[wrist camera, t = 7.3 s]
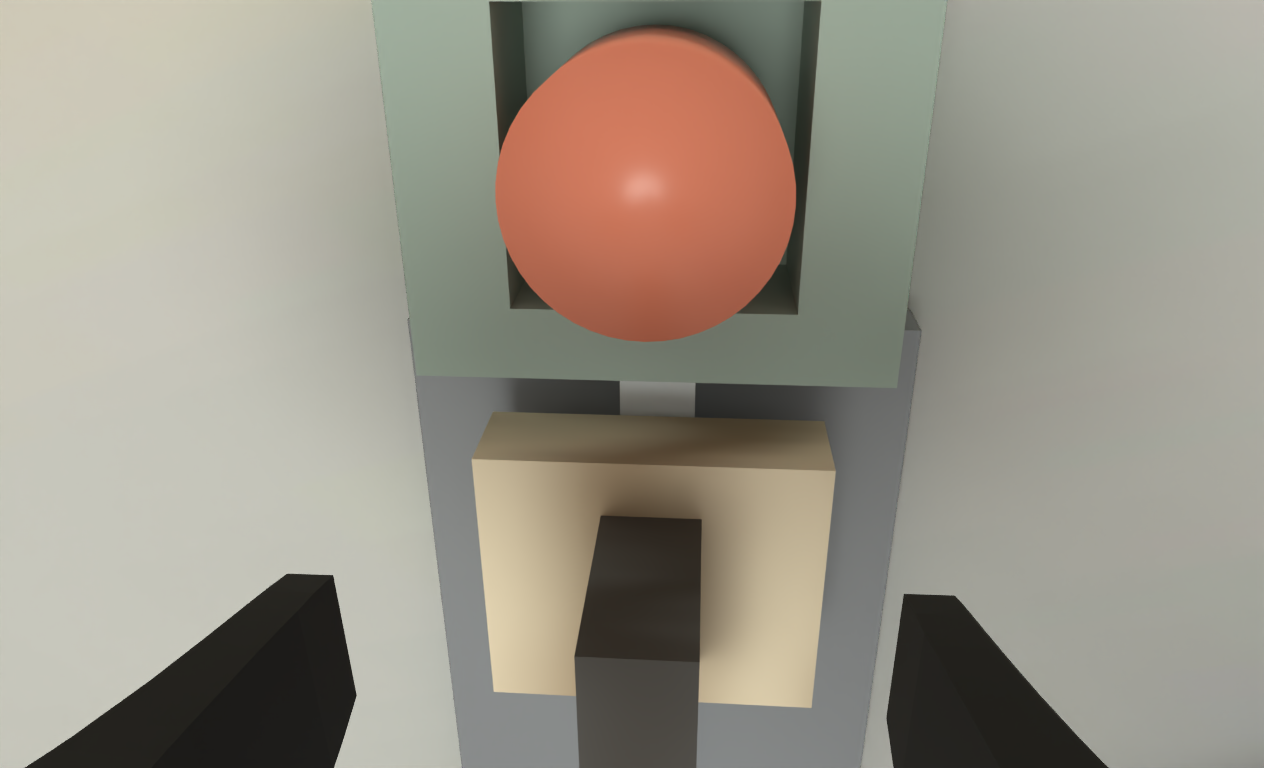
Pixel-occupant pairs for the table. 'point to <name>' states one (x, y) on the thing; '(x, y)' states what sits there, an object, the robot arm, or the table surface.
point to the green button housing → (818, 144)
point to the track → (727, 733)
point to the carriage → (653, 569)
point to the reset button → (647, 185)
